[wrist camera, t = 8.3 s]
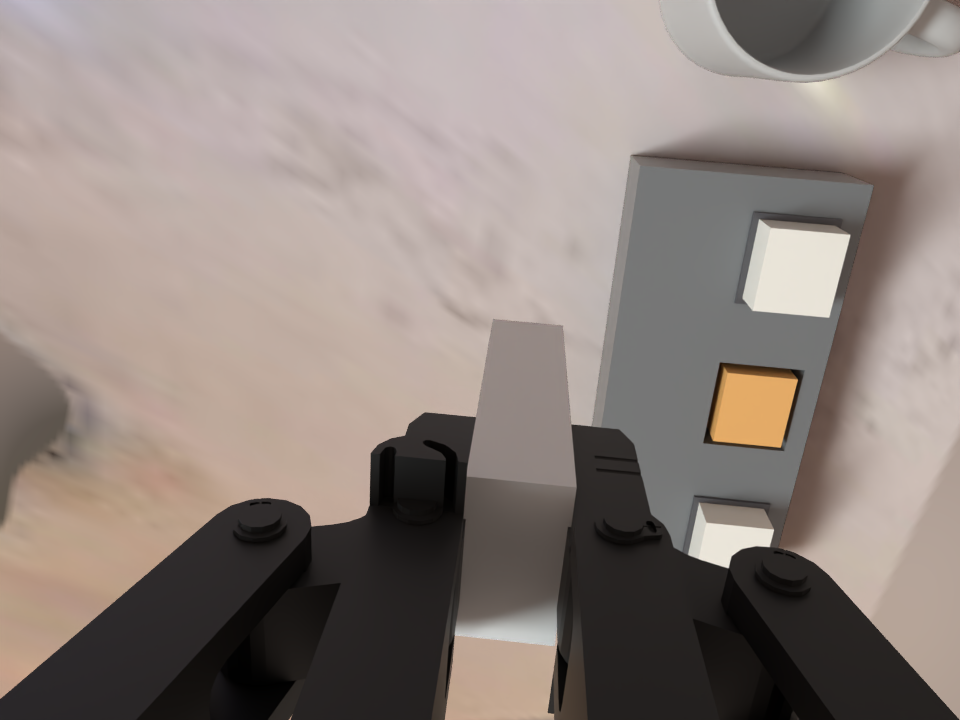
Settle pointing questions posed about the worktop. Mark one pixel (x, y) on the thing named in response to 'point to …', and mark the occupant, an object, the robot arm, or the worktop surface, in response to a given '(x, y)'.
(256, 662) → the robot arm
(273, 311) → the worktop surface
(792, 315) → the grey button panel
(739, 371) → the button orange
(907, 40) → the mug
